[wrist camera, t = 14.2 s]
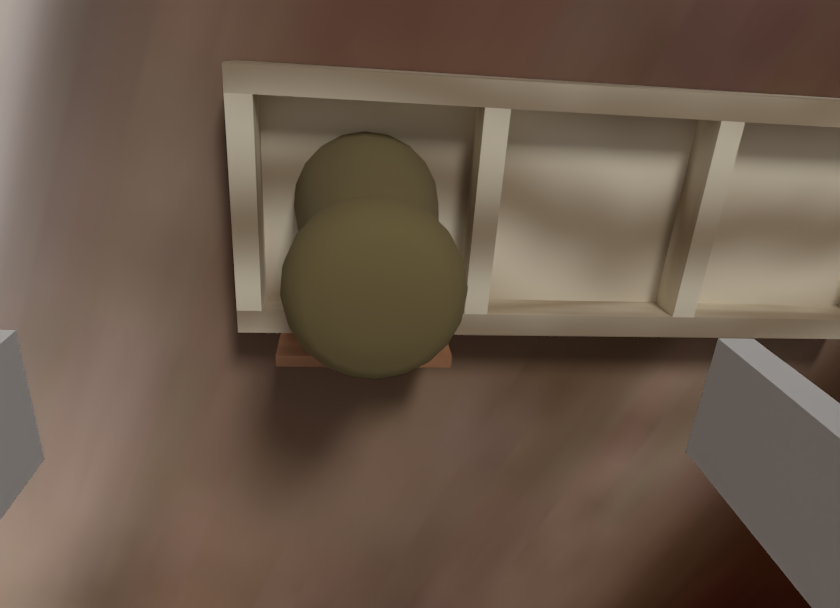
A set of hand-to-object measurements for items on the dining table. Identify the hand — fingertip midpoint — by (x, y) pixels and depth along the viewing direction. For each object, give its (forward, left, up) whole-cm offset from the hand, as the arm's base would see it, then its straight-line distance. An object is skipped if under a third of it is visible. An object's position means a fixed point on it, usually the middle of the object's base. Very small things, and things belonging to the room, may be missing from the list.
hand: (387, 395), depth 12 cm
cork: (0, 0, -15) cm, 15 cm away
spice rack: (0, +9, -16) cm, 18 cm away
